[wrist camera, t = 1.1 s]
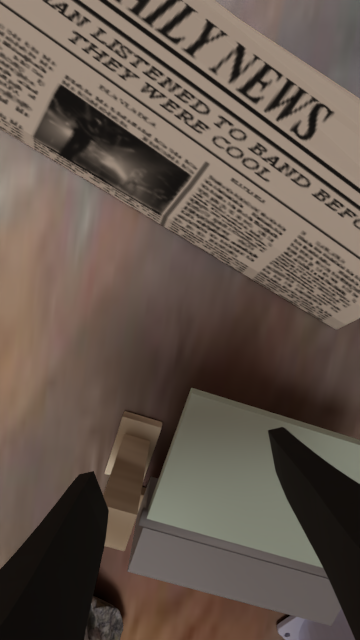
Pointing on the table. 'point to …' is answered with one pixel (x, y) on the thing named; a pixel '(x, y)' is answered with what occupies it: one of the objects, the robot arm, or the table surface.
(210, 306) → the table surface
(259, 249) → the newspaper
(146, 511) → the trapdoor
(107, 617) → the grey rock
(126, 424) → the frame
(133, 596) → the table surface
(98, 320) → the table surface
